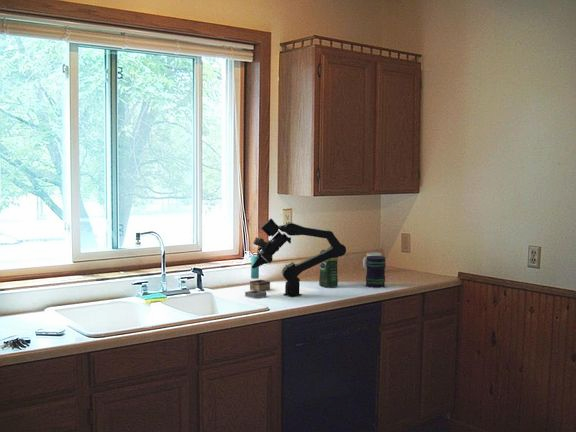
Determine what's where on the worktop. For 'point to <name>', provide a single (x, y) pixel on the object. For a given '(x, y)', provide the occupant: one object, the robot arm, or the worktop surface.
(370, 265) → the storage jar
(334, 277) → the coffee jar
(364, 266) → the mug
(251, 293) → the lower dock
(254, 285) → the upper stand
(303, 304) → the worktop surface
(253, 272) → the dowel plug
